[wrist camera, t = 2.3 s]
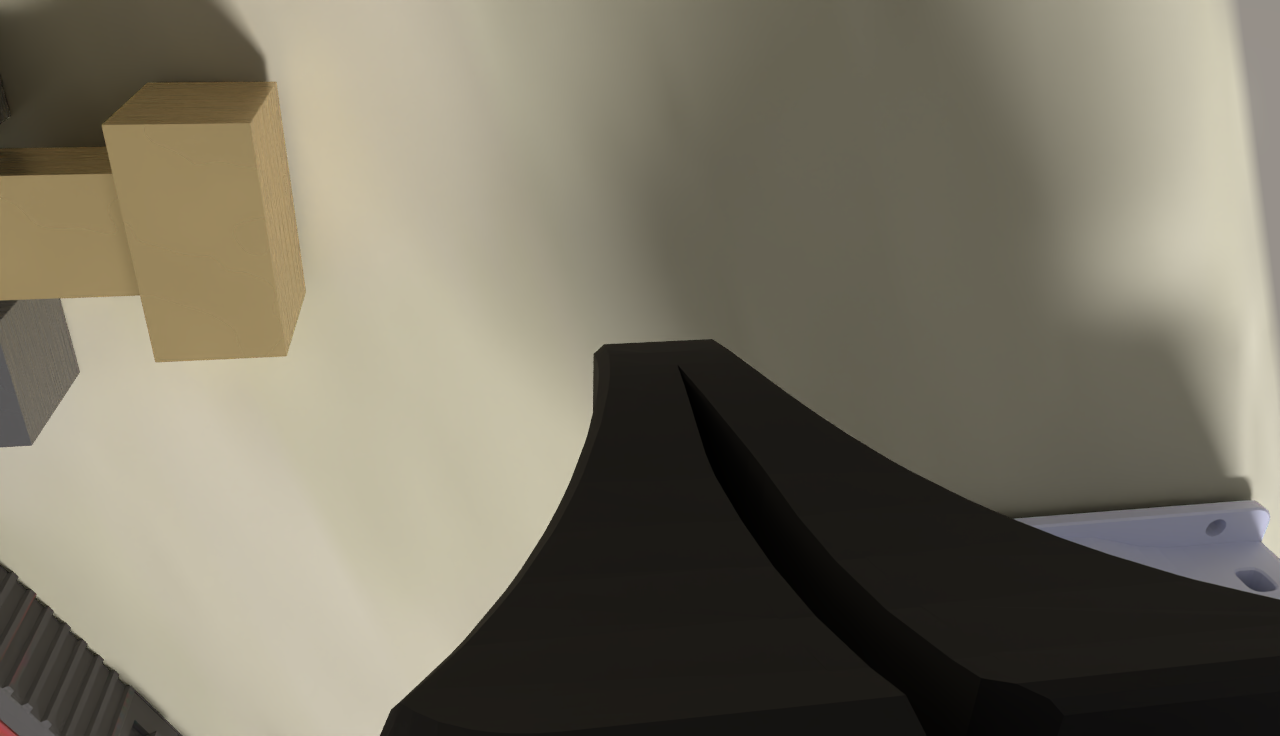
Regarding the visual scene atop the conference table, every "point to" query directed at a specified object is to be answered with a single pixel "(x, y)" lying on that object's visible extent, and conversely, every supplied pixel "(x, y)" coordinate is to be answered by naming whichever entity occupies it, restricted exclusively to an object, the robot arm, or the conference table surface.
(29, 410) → the block
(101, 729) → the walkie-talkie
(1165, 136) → the conference table surface
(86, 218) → the key
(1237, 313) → the conference table surface
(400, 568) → the conference table surface
